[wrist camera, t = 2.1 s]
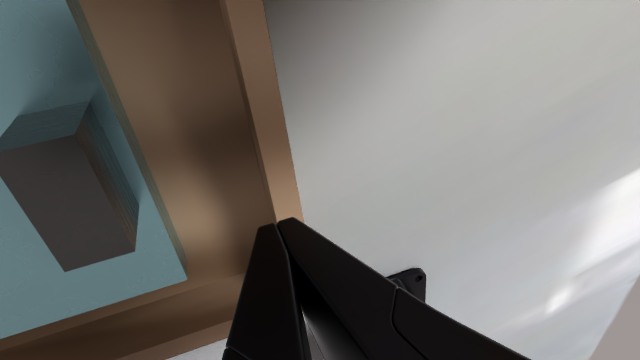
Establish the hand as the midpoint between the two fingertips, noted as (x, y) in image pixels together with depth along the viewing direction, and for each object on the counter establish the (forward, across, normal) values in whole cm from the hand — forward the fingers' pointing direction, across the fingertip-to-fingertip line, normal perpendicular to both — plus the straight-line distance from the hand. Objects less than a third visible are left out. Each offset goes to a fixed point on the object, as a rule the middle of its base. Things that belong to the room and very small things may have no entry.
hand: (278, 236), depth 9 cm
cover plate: (+8, +8, 0) cm, 11 cm away
